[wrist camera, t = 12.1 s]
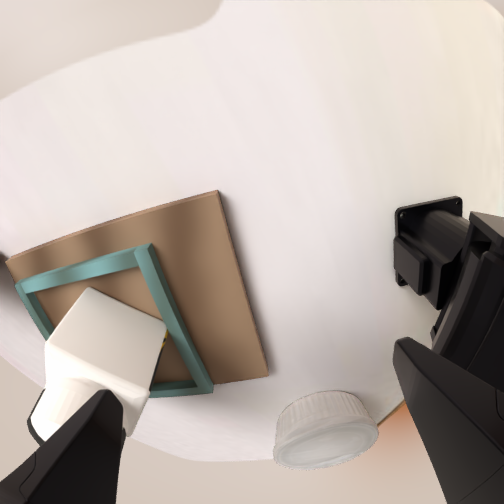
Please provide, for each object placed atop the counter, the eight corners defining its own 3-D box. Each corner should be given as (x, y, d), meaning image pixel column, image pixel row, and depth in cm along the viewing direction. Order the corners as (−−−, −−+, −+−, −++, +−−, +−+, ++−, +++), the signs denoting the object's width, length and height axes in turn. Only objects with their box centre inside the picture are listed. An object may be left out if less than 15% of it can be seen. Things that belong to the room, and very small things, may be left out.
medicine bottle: (148, 375, 24) (117, 492, 13) (78, 342, 22) (23, 447, 11) (171, 322, 21) (133, 465, 10) (88, 283, 20) (5, 401, 9)
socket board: (217, 189, 19) (214, 198, 17) (267, 366, 25) (269, 384, 23) (12, 256, 20) (-2, 266, 18) (88, 383, 26) (81, 397, 24)
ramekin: (293, 444, 32) (298, 478, 27) (251, 407, 28) (252, 449, 23) (374, 413, 30) (386, 446, 25) (351, 367, 26) (366, 408, 21)
